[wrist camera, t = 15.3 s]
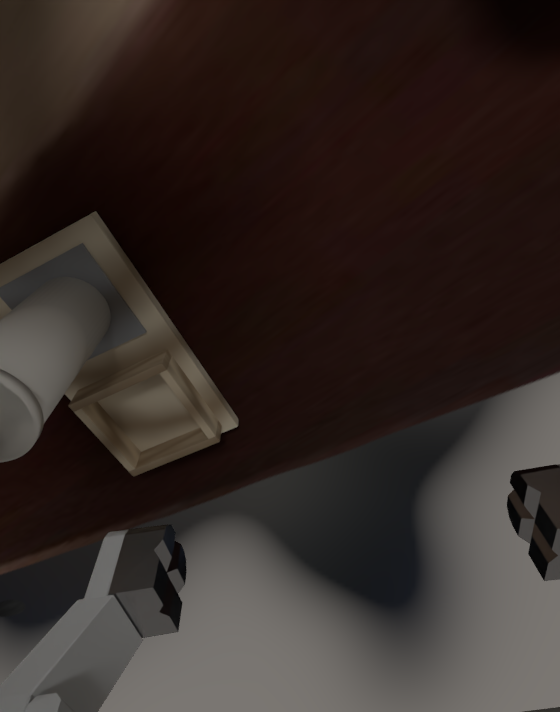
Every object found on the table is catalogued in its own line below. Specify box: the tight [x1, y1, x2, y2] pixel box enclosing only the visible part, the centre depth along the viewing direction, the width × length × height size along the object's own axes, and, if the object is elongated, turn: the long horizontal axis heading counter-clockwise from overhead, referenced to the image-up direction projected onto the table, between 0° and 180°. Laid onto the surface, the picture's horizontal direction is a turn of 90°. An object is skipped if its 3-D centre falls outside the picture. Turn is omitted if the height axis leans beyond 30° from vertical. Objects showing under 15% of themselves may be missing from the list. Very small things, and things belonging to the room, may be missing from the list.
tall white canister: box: [0, 277, 111, 462], centre depth 33 cm, size 10×7×15 cm
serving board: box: [0, 211, 239, 477], centre depth 42 cm, size 24×13×4 cm, turn 26°
